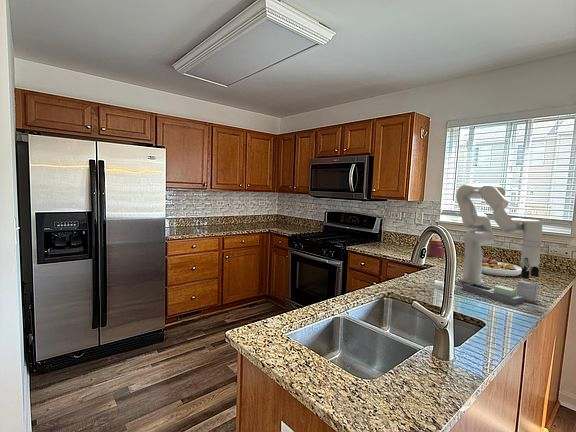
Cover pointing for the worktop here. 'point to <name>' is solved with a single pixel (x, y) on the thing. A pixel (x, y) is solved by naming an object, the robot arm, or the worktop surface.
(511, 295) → the green clip block
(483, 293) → the gray rectangular tray
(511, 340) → the worktop surface
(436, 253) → the canister
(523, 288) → the medicine box
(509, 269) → the bowl
